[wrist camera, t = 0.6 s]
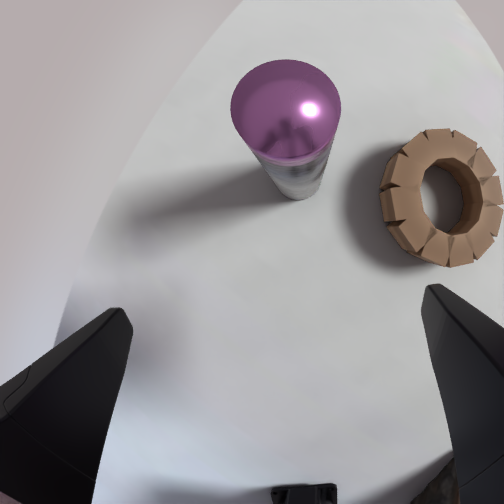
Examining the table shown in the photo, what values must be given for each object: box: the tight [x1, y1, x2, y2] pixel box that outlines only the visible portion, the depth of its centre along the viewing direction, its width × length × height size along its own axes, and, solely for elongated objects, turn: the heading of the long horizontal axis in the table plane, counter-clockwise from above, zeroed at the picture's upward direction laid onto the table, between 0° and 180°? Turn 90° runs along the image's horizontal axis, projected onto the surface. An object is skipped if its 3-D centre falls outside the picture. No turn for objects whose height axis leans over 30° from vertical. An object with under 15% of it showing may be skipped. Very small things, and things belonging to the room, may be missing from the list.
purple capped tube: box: [230, 60, 341, 200], centre depth 14 cm, size 3×3×13 cm
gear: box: [379, 129, 504, 268], centre depth 17 cm, size 9×9×3 cm
